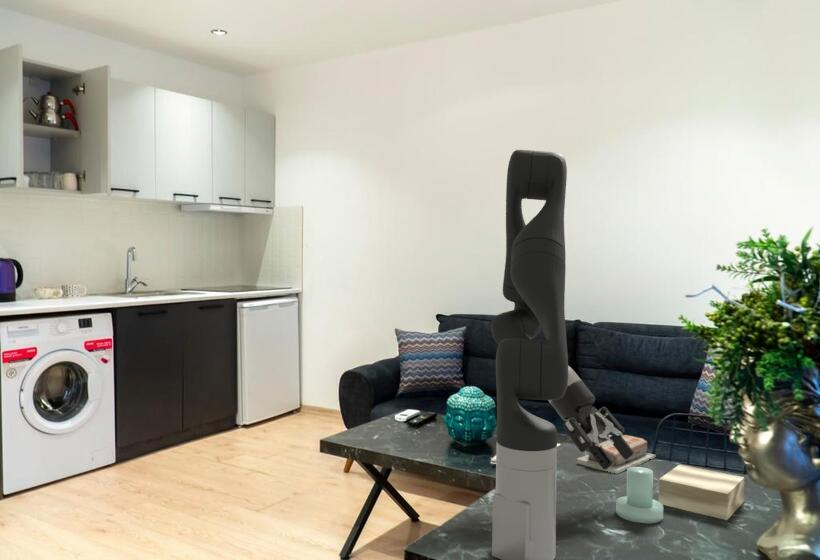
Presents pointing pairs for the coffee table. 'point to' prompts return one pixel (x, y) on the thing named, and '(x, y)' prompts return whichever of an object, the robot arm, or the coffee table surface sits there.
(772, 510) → the coffee table surface
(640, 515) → the mint green knob
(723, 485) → the block
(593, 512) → the coffee table surface
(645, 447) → the packaged product
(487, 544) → the coffee table surface
